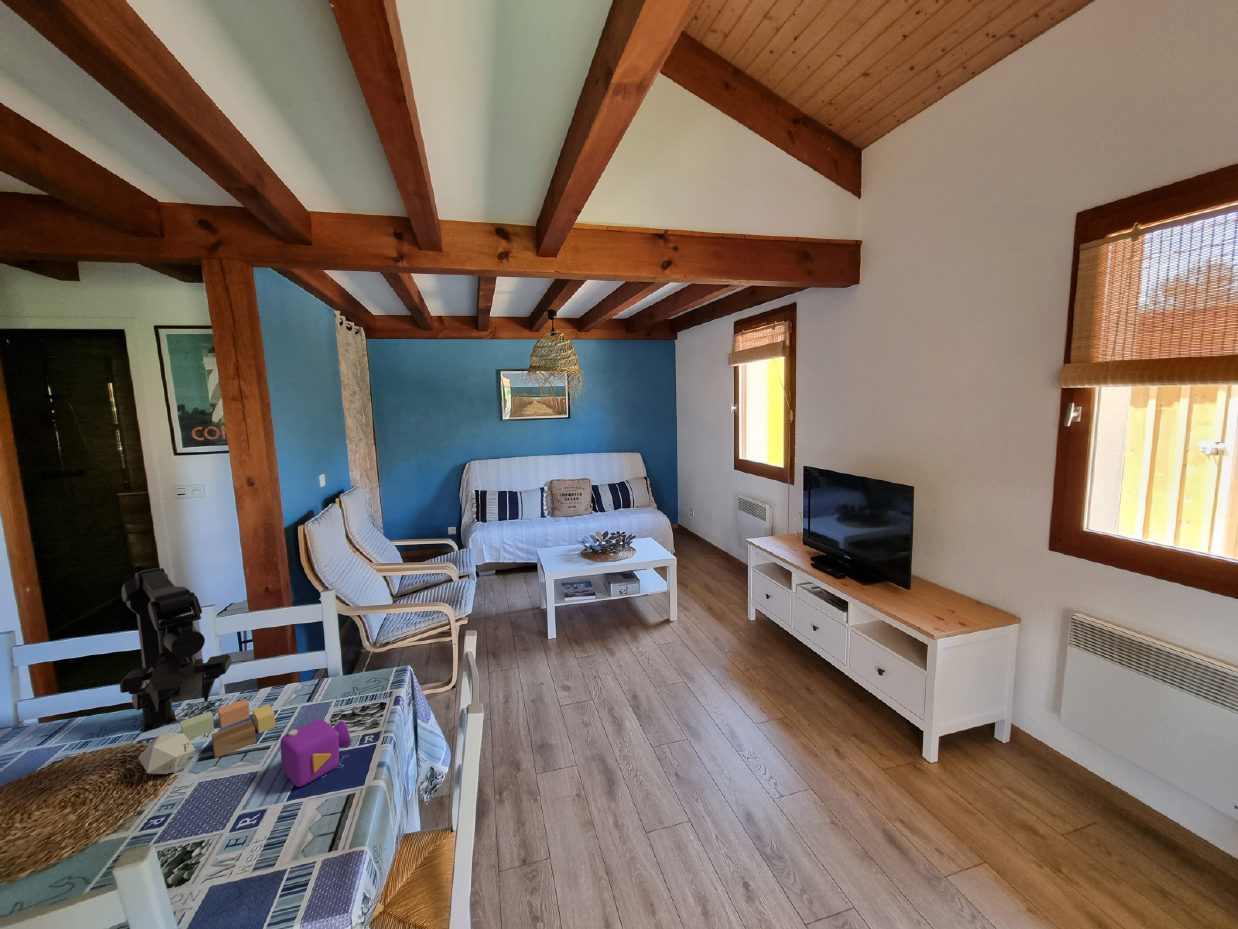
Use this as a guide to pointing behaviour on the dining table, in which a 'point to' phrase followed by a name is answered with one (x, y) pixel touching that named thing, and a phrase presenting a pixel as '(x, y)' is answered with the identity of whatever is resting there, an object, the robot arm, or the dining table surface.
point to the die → (166, 753)
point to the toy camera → (312, 750)
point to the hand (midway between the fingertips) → (181, 706)
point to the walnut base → (233, 738)
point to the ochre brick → (264, 718)
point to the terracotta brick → (233, 713)
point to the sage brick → (198, 725)
